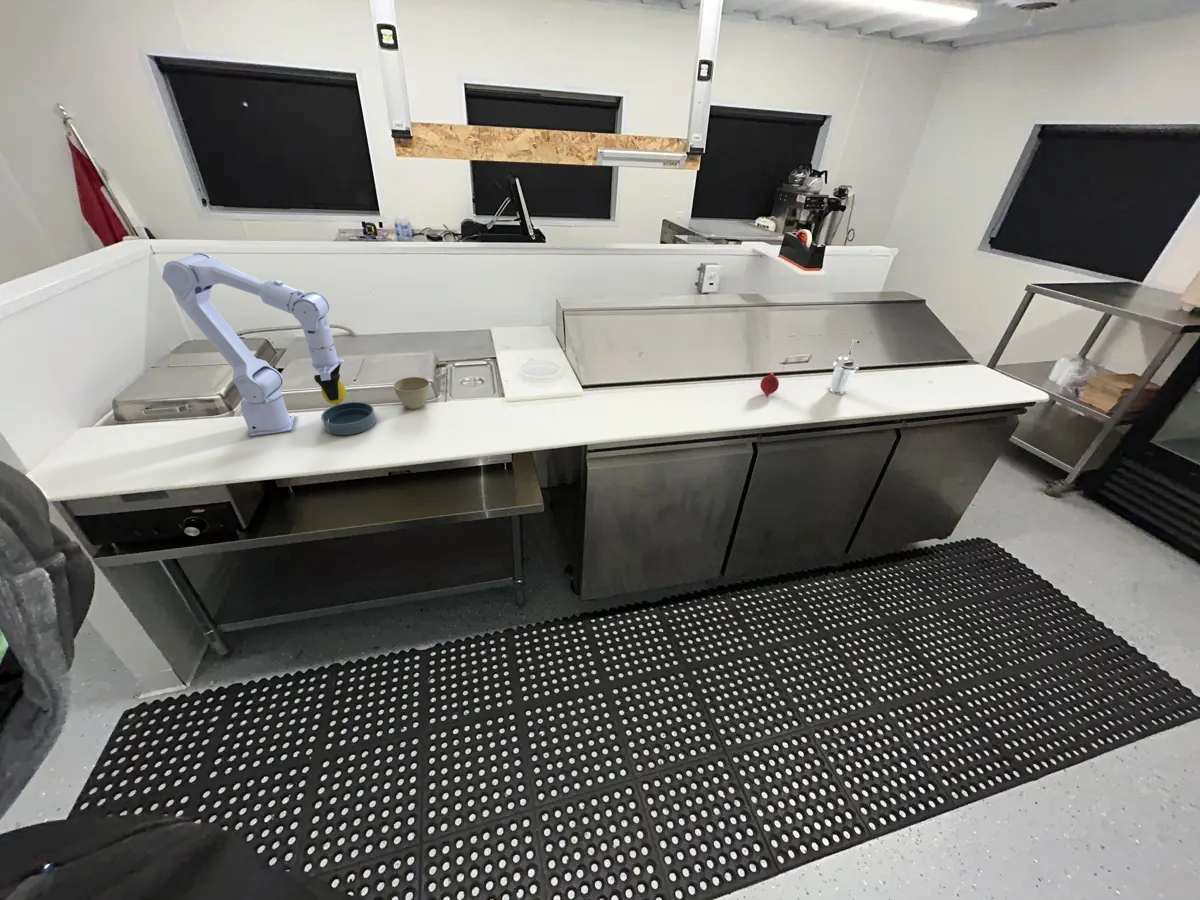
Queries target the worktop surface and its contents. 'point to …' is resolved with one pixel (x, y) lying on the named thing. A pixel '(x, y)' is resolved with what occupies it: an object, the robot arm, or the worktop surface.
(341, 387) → the lemon
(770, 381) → the onion
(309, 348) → the robot arm
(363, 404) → the bowl
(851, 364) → the cup with straw
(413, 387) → the flower pot
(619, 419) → the worktop surface
